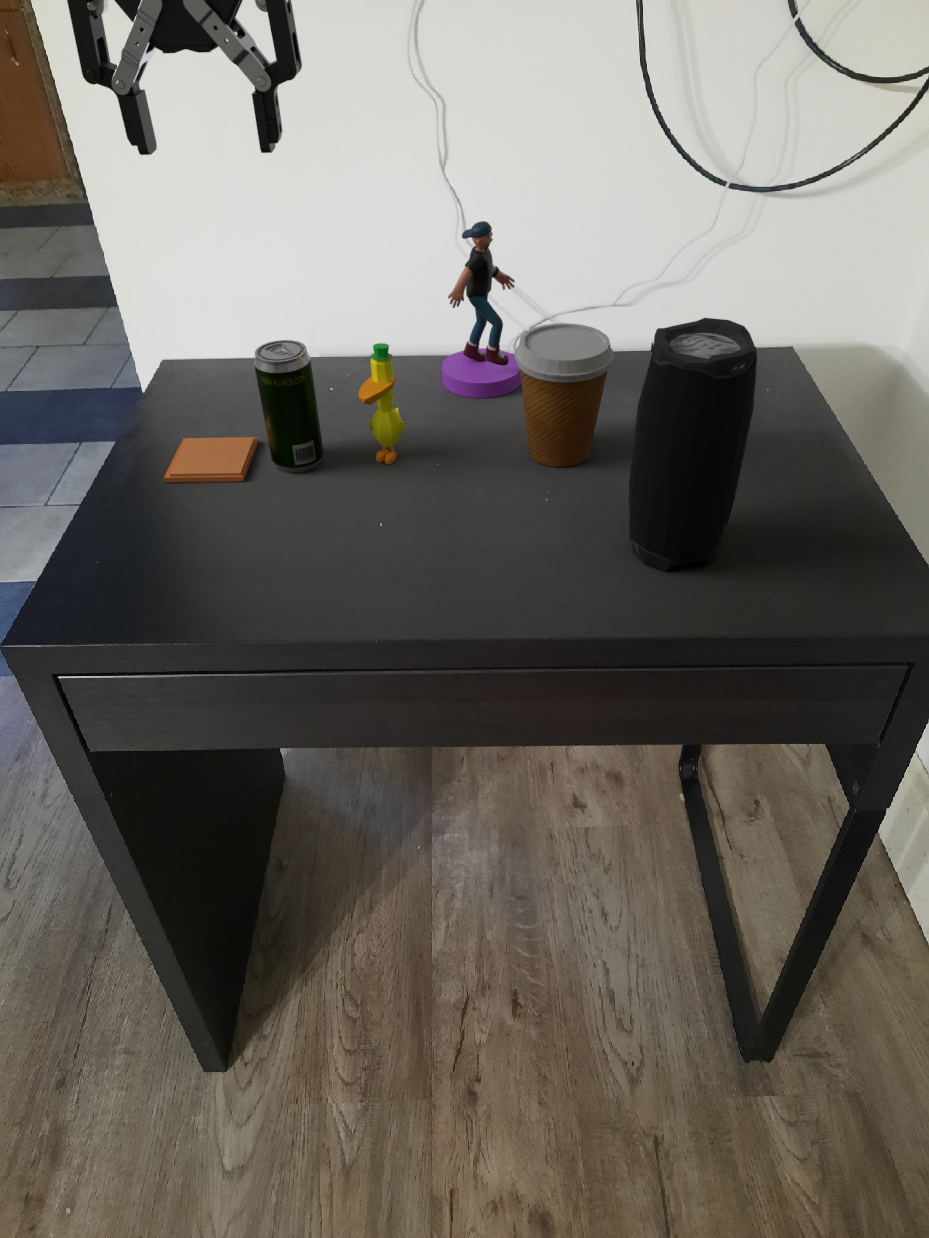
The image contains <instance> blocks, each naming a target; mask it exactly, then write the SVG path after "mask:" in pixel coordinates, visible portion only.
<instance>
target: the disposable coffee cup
mask: <svg viewBox="0 0 929 1238" xmlns="http://www.w3.org/2000/svg"><path fill="white" fill-rule="evenodd" d="M514 355H515V359H516V361H517V363H518V367H519V368H520V374H521V383H520V385H521V392H522V401H523V409H524V419H525V427H526V436H527V445H528V454H529V456H530V458H531V459H533V460H534V461H535V462H537V463H538V464H541V465H545V466H547V467H556V468H566V467H567V468H568V467H573V466H577V465H579V464H581V463H583V462H585V461H586V460H587V459H588V458H589V456H590V453H591V449H592V445H593V439H594V435H595V431H596V426H597V421H598V417H599V412H600V407H601V403H602V398H603V393H604V388H605V384H606V380H607V375H608V370H609V369H610V367H611V365H612V363H613V362H614V357H615V352H614V350H613V349H612V347H611V341H610V338H609V336H608V335H607V334H606V333H604V332H603V331H601V330H600V329H598V328H595V327H592V326H589V325H585V324H579V323H572V322H571V323H568V322H560V323H558V322H557V323H549V324H543V325H539V326H536V327H533V328H530V329H529V330H526V331H525V332H524V333H523V334H522V335H521V337H520V339H519V343H518V346H517V347H516V348H515V350H514Z"/></svg>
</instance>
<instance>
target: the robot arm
mask: <svg viewBox="0 0 929 1238" xmlns="http://www.w3.org/2000/svg"><path fill="white" fill-rule="evenodd" d="M243 1H244V0H114V2H115V4H117V6H118V7H119V8H120V9H121V10H122V12H123V13H124V14H125V15H126V16H127V18H128V19H129V20H130V22H132V24H131V27H130V29H129V31H128V34H127V37H126V40H125V41H124V44H123V47H122V49H121V51H120V52H121V53H120V54H121V56H120V58H119V61H118V63H117V64H116V63H113V62H111V57H110V53H109V52H110V51H109V46H108V41H107V36H106V30H105V25H104V19H103V15H104V14H106V13H107V12H108V10H109V0H66V2H67V6H68V11H69V17H70V21H71V27H72V30H73V36H74V40H75V46H76V50H77V55H78V59H79V61H78V62H79V66H80V71H81V75H82V77H83V79H84V81H85V82H87V83H88V84H90V85H93V86H94V85H99V86H102V87H105V88H106V89H109V90H110V91H112V92H113V93H114V95H115V96H116V98H117V102H118V106H119V110H120V115H121V118H122V122H123V127H124V131H125V135H126V139H127V140H128V142H129V144H130V145H131V146H132V147H137V148H136V149H137V151H138V153H139V155H140V156H151V155H153V154H154V153H155V152H156V151H157V147H158V145H157V139H156V135H155V130H154V129H155V128H154V125H153V120H152V116H151V111H150V108H149V102H148V97H147V94H146V89H141V87H140V84H141V81H142V79H143V76H144V75H145V72H146V70H147V67H148V65H149V63H150V61H151V59H152V58H153V56H154V55H155V52H156V50H158V51H161V52H162V54H176V53H178V52H182V51H185V50H188V51H192V52H194V53H201V54H203V53H211V52H212V51H214V50H215V49H217V48H218V47H219V49H220V50H221V51H222V53H223V54H224V55H225V56H226V57H227V58H228V60H230V62H231V63H233V64H234V65H236V66H237V67H238V68H239V70H240V71H241V72H242V73H243V74H244V76H245V77H246V78H247V80H249V82H250V83H251V84H252V85H253V86H254V91H253V92H252V93H251V99H252V104H253V112H254V116H255V124H256V130H257V136H258V143H259V150H260V153H261V154H270V153H273V152H274V150H275V149H276V144H278V143H280V141H281V139H282V136H283V123H282V116H281V108H280V101H279V95H278V89H279V85H281V84H284V83H286V82H287V81H292V80H294V79H295V78H296V77H297V75H298V74H299V73H300V72H301V70H302V68H303V61H302V56H301V50H300V45H299V39H298V32H297V27H296V21H295V20H296V19H295V16H294V10H293V9H294V8H293V4H292V0H254V2H255V5H256V7H257V8H258V10H259V11H261V12H263V13H267V17H268V23H269V29H270V33H271V34H270V35H271V38H272V44H273V49H274V55H275V59H276V60H274V61H272V62H270V60H268V58H267V57H266V56H265V55H264V53H263V52H262V51H261V49H260V48H259V47H258V46H257V44H256V41H255V39H254V38H253V37H252V35H251V34H250V32H248V30H247V29H246V27H244V25H243V24H242V22H240V20H239V19H238V18H237V14H238V12H239V10H240V8H241V6H242V3H243Z"/></svg>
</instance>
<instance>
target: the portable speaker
mask: <svg viewBox="0 0 929 1238" xmlns="http://www.w3.org/2000/svg"><path fill="white" fill-rule="evenodd" d="M650 353H651V356H650V359H649V362H648V367H647V371H646V375H645V378H644V381H643V385H642V389H641V392H640V396H639V400H638V403H637V410H636V418H635V419H636V420H635V427H634V428H635V429H634V436H633V444H632V445H633V446H632V455H631V462H630V463H631V465H630V472H629V480H628V500H627V501H628V503H629V504H628V505H629V507H628V508H629V509H628V510H629V512H628V516H629V519H628V520H629V523H628V525H629V539H630V542H631V550H632V553H633V555H634V556H636V558H637V559H639V561H640V562H641V563H642V564H643V565H645V566H648V567H652V568H654V569H657V570H660V571H663V572H667V571H669V570H671V569H672V568H674V567H677V566H681V565H687V564H693V563H698V562H704V563H705V564H706V565H708V564H711V563H713V562H715V559H716V556H717V552H718V549H719V546H720V542H721V541H722V539H723V536H724V532H725V530H726V527H727V525H728V524H729V520H730V516H731V512H732V510H733V505H734V502H735V499H736V493H737V490H738V484H739V481H740V476H741V470H742V467H743V462H744V461H743V460H744V457H745V451H746V447H747V441H748V437H749V432H750V427H751V422H752V418H753V413H754V407H755V393H756V377H757V364H758V363H757V362H758V350H757V347H756V346H755V343H754V340H753V338H752V336H751V333H750V332H749V330H748V329H747V328H746V326H745V325H742V324H740V323H737V322H735V321H733V320H730V319H724V318H723V319H722V318H712V317H703V318H701V319H698V320H695V321H688V322H685V323H679V324H676V325H671V326H667V327H659V328H658V327H657V328H656V331H655V333H654V335H653V342H651V345H650Z"/></svg>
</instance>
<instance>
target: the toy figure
mask: <svg viewBox="0 0 929 1238" xmlns="http://www.w3.org/2000/svg"><path fill="white" fill-rule="evenodd" d="M372 349H373V353H371V354H370V371H371V376H370V377H369V378H368V379H367V380H365V381H364V383H362V385H360V387H359V390H358V399H359V400H360V402H361V403H363V404H365V405H368V406H370V405H373V404H374V403H376V405H377V410H376V411H375V413H374V414H373V415H372V416H371V417H370V422H369V425H368V426H369V429H368V431H371V430H372V436H373V437H374V439H375V440H376V441H377V442H378V443H379V444H380V445H381V448H382V450H379V451H377V452H376V456H375V462H377V463H382V462H383V461H384V464H385V465H391V464H392V463H394V462H395V461H396V458H397V456H398V453H397V452H396V451H395V445H396V444H397V443H398V441H399V439H400V438H401V436H402V435H403V433H404V431H405V429H406V424H405V421H404V420H402V416H401V415H400V412H399V411H400V410H399V406H398V407H396V408H393V407H394V406H393V405H394V387H395V383H396V380H397V378H396V377H395V376H394V370H393V369H394V368H393V354H392V353H389V349H390V345H389V344H387V343H385V342H384V343H383V342H381V343H374V344H373V345H372ZM387 447H390V451H389V450H387Z"/></svg>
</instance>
